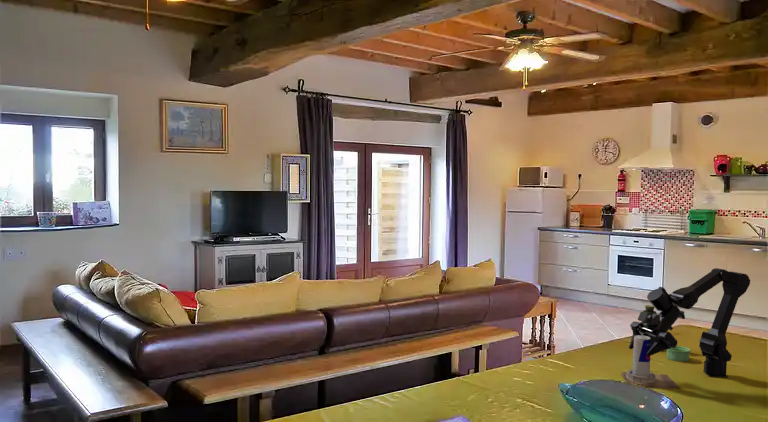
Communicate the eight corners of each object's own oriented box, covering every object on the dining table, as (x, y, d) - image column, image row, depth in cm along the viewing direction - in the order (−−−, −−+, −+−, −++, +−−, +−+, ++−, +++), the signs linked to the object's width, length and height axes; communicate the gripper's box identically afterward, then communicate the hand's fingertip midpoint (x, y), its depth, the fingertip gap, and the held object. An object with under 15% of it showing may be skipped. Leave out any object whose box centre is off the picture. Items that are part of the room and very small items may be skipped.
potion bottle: (646, 350, 265) (648, 308, 264) (633, 345, 273) (635, 304, 272) (662, 349, 267) (664, 307, 267) (650, 344, 275) (651, 303, 274)
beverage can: (641, 382, 220) (643, 339, 219) (628, 377, 225) (630, 335, 224) (652, 380, 222) (654, 337, 221) (640, 375, 227) (641, 334, 226)
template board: (666, 377, 229) (667, 369, 229) (678, 389, 216) (679, 380, 216) (621, 374, 231) (621, 366, 231) (630, 386, 218) (630, 377, 218)
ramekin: (694, 362, 249) (694, 351, 249) (671, 362, 249) (671, 351, 249) (683, 356, 258) (684, 345, 258) (661, 355, 258) (662, 345, 258)
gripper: (635, 299, 232) (608, 330, 230) (671, 309, 214) (643, 343, 212) (652, 319, 235) (626, 350, 232) (689, 331, 217) (661, 365, 214)
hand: (638, 351), depth 222 cm, fingers open, 9 cm apart
